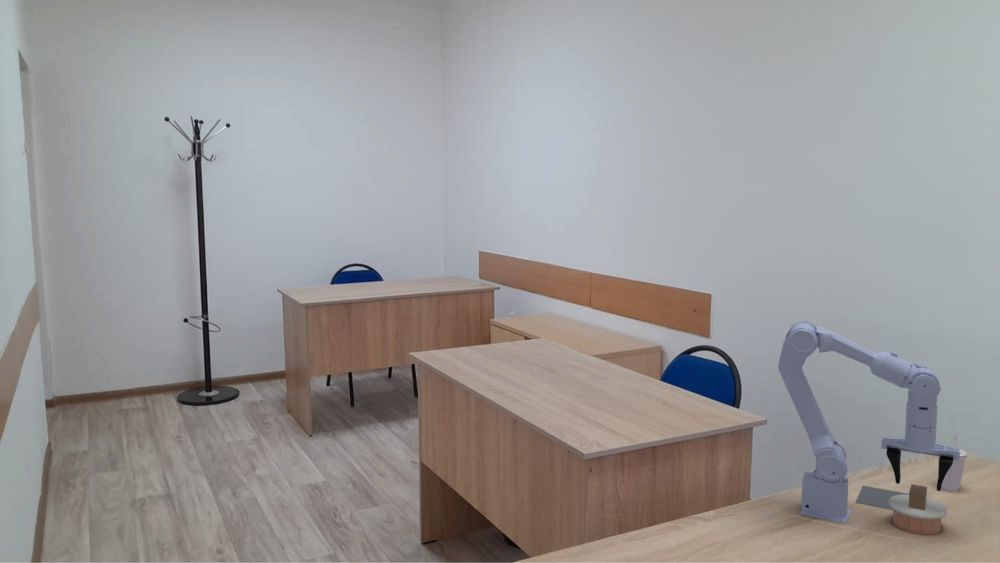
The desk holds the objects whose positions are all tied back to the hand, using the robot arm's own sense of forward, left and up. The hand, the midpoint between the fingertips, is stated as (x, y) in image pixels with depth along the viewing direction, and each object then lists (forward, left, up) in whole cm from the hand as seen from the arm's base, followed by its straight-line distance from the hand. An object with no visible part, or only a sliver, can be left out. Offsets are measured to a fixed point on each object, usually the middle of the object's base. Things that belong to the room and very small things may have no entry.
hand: (918, 485), depth 157 cm
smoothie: (+5, +27, -9) cm, 29 cm away
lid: (0, 0, -5) cm, 5 cm away
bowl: (0, 0, -9) cm, 9 cm away
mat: (-7, +12, -9) cm, 17 cm away
